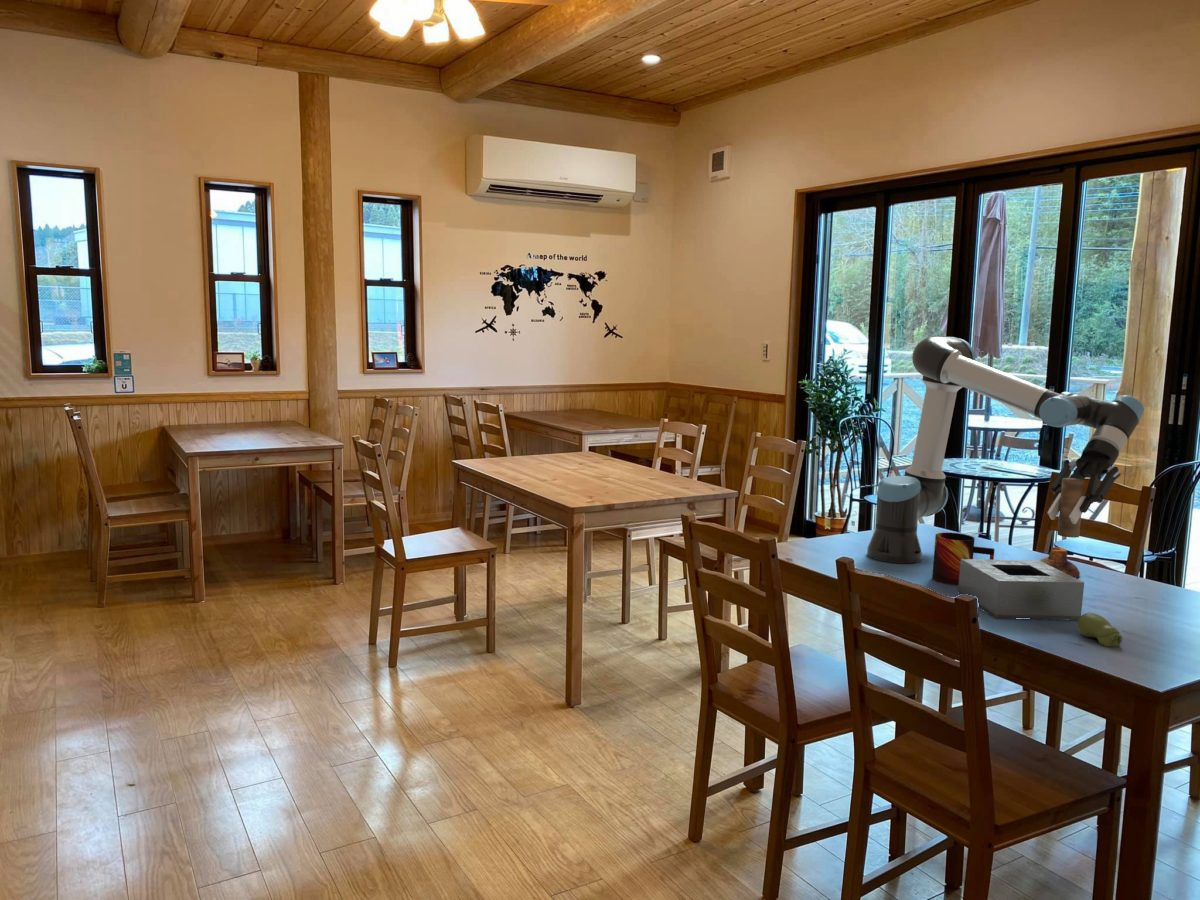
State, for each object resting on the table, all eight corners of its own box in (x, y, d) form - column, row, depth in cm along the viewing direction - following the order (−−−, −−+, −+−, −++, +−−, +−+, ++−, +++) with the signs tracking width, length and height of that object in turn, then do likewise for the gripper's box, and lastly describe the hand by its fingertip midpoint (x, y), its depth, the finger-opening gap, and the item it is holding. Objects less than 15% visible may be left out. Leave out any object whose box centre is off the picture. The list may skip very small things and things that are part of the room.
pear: (1095, 608, 196) (1131, 630, 187) (1090, 629, 198) (1125, 652, 188) (1074, 609, 195) (1109, 631, 186) (1069, 631, 196) (1103, 654, 187)
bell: (1069, 582, 240) (1072, 555, 239) (1024, 572, 249) (1026, 546, 248) (1086, 575, 248) (1089, 549, 247) (1042, 566, 257) (1044, 541, 256)
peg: (1053, 532, 223) (1058, 477, 221) (1072, 533, 223) (1077, 478, 221) (1064, 537, 218) (1069, 481, 216) (1083, 537, 218) (1088, 481, 216)
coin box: (957, 593, 225) (960, 558, 223) (1035, 595, 225) (1039, 560, 224) (995, 618, 205) (998, 580, 204) (1080, 620, 205) (1084, 582, 204)
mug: (993, 586, 233) (997, 541, 231) (940, 585, 232) (943, 540, 231) (977, 576, 242) (981, 533, 241) (926, 575, 242) (930, 532, 241)
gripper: (1145, 462, 219) (1102, 535, 212) (1074, 453, 234) (1032, 520, 227) (1136, 442, 215) (1092, 515, 209) (1064, 433, 230) (1021, 502, 223)
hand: (1061, 518), depth 218 cm, fingers closed on peg, 5 cm apart
